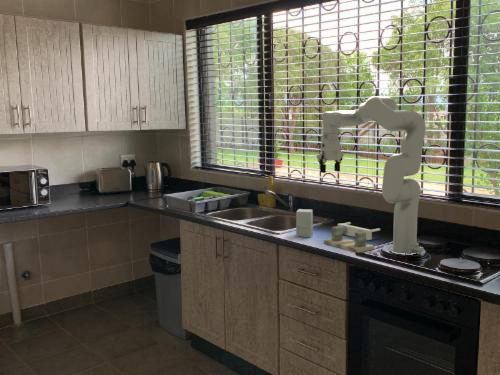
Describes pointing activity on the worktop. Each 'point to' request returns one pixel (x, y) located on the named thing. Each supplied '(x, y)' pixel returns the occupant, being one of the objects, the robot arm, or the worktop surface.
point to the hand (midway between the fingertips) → (330, 171)
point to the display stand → (349, 241)
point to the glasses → (356, 230)
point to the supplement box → (304, 222)
